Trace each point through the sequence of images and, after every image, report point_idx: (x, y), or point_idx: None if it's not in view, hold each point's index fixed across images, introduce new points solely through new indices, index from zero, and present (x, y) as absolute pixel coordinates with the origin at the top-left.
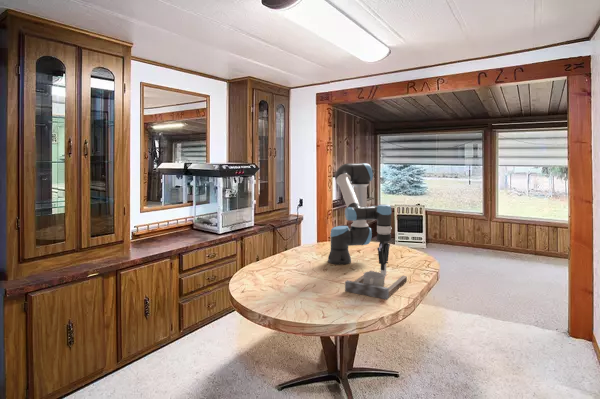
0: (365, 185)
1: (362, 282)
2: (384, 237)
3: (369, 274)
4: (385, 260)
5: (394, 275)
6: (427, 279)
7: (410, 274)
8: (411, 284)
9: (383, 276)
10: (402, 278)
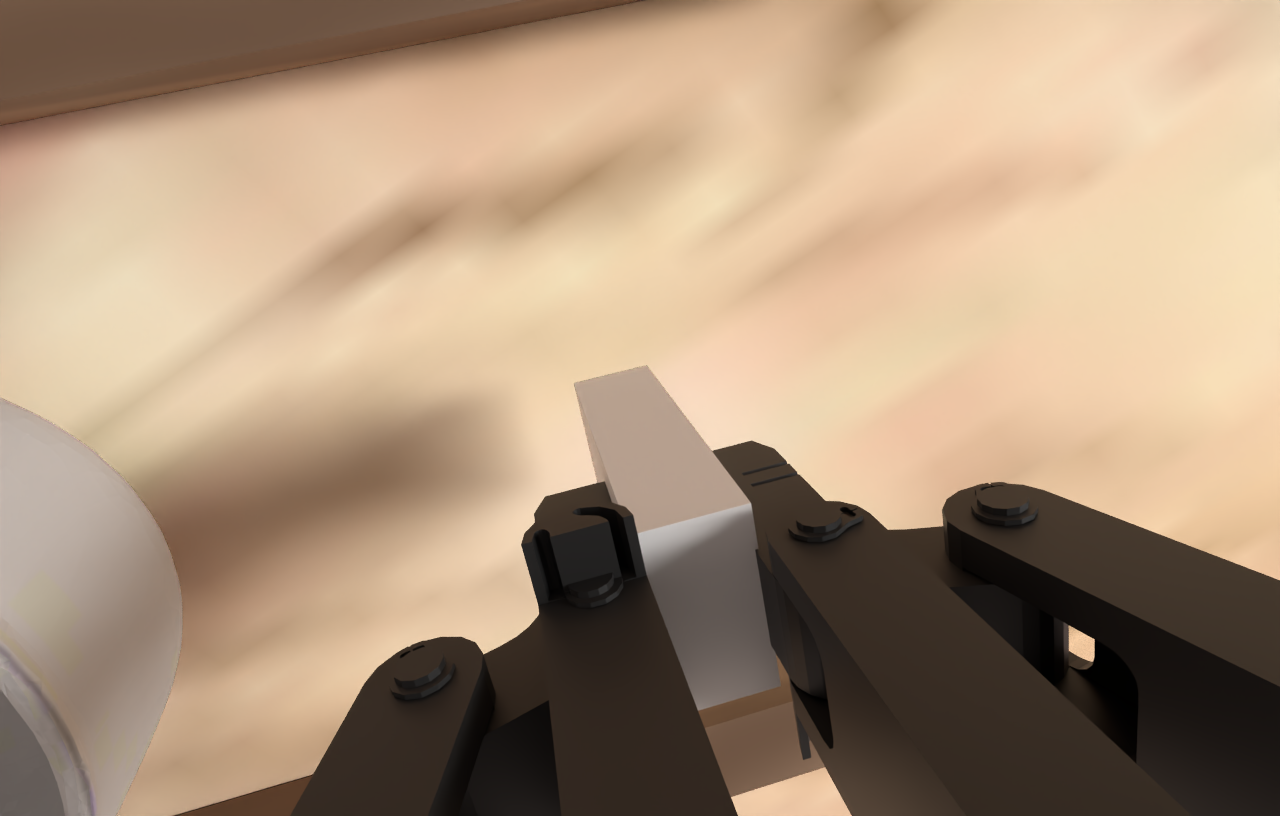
0: None
1: (12, 117)
2: None
3: None
4: (827, 759)
5: (1082, 338)
6: None
7: (1274, 511)
8: (780, 812)
9: None
10: (784, 751)
